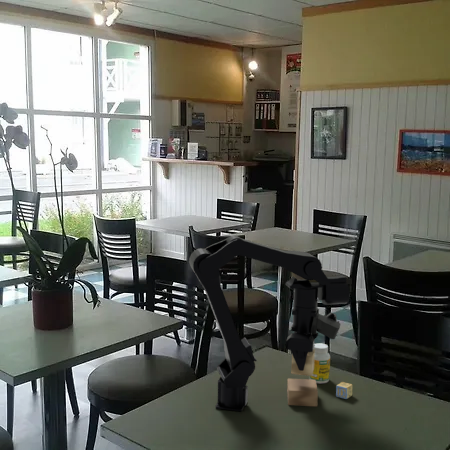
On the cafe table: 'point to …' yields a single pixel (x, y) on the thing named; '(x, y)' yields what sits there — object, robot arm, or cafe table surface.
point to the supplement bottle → (321, 364)
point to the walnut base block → (302, 392)
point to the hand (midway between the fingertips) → (302, 366)
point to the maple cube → (308, 365)
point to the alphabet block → (344, 390)
